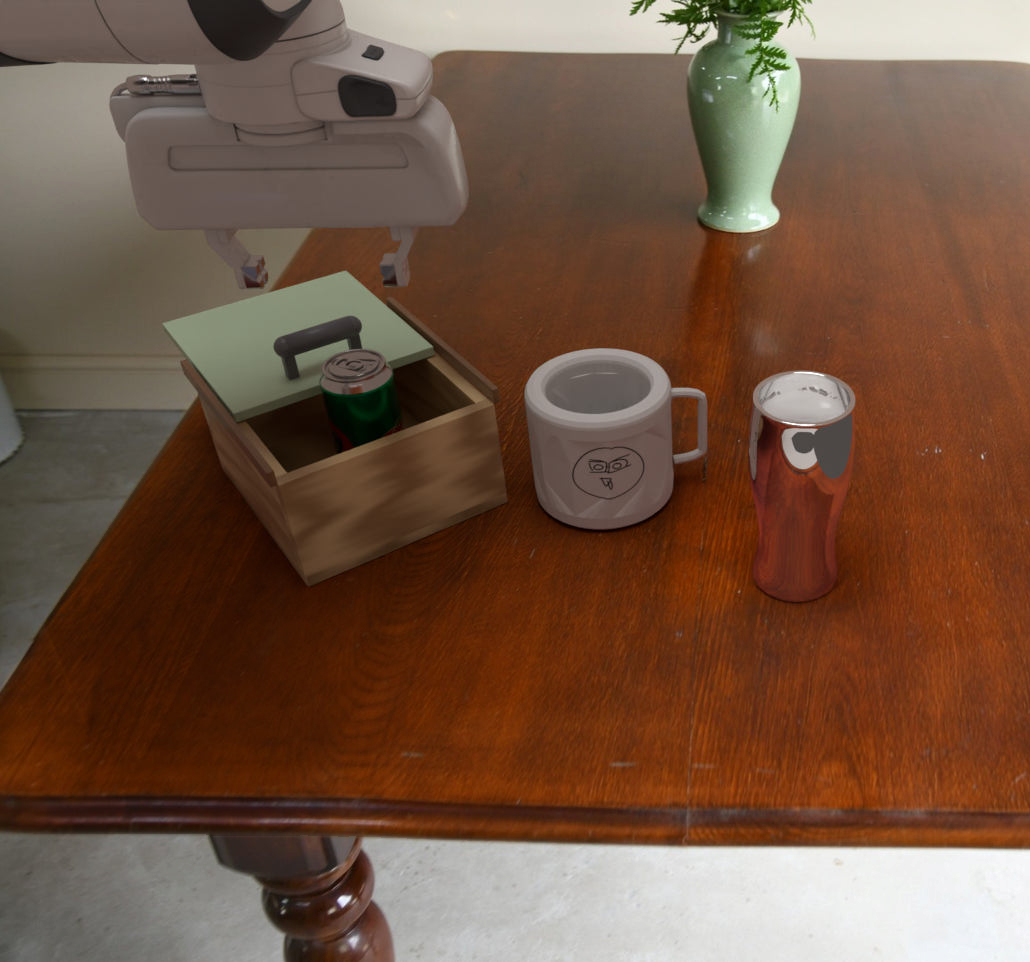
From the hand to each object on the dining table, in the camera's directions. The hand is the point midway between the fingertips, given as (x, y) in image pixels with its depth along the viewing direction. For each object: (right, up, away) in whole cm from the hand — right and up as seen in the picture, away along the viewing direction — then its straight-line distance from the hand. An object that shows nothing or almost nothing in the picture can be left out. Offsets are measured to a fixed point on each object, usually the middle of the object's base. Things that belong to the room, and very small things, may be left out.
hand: (326, 284), depth 75 cm
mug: (+19, -14, +14) cm, 27 cm away
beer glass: (+32, -20, +6) cm, 38 cm away
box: (-2, -13, +14) cm, 19 cm away
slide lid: (-7, -2, +14) cm, 15 cm away
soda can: (+1, -15, +11) cm, 18 cm away
